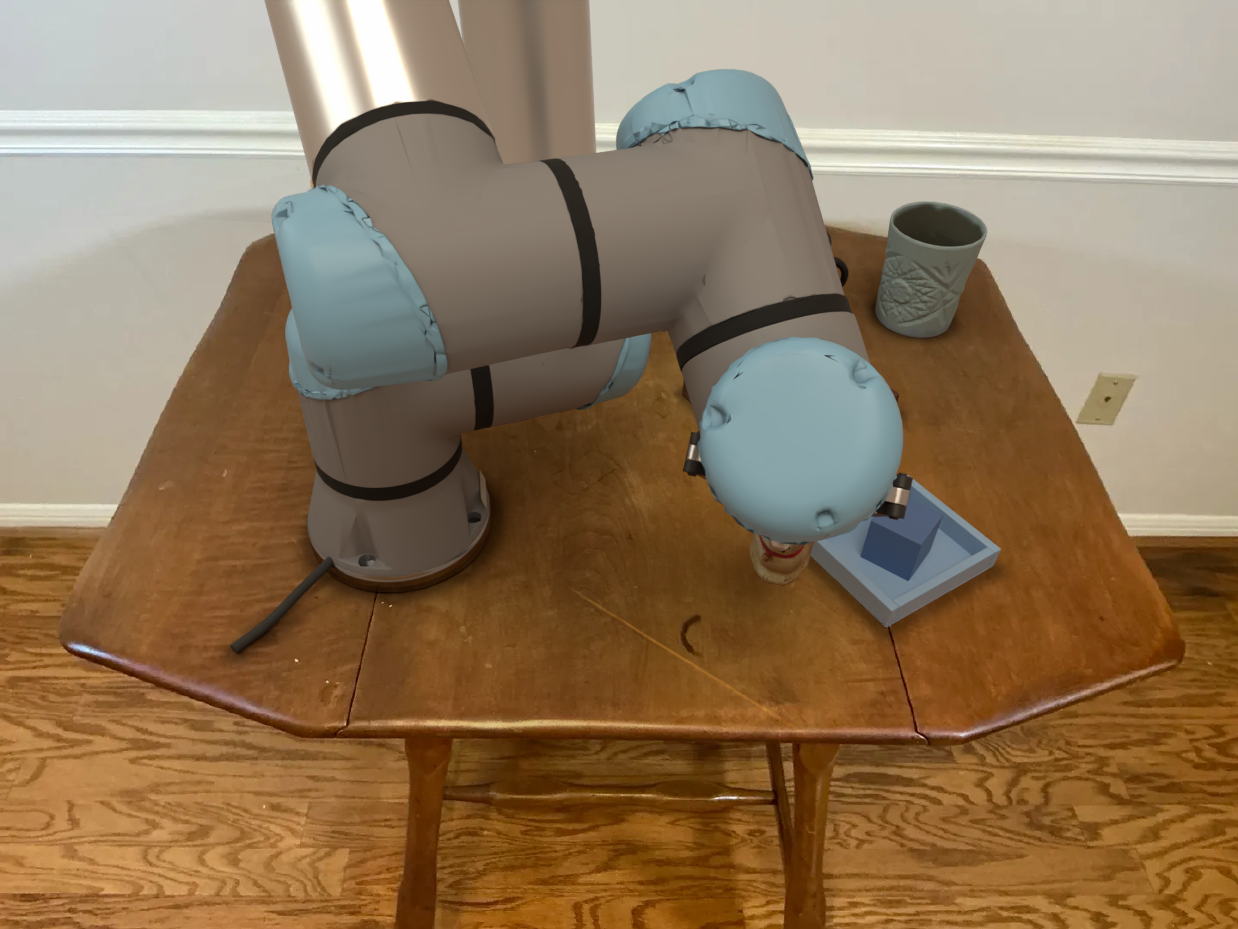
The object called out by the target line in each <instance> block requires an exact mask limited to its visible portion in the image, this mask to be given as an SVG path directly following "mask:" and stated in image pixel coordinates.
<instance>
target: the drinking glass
mask: <svg viewBox="0 0 1238 929" xmlns="http://www.w3.org/2000/svg"><path fill="white" fill-rule="evenodd" d="M888 223H889V224H888V229H887V230H888V232H887V241H886V242H887V243H886V246H885V250H884V251H885V252H884V255H885V260H884V263H883V267H882V270H881V272H882V273H881V277H880V282H879V283H880V284H879V286H878V288H877V291H878V292H877V295H876V301H875V308H874V312H875V316H876V319H877V320H878V322H879V323H880V324H881V325H882V326H884V328H887V329H888V330H890V331H892V332H894V333H896V334H899V335H902V336H905V337H910V338H918V339H920V338H921V339H925V338H933V337H934V338H935V337H938V336H941V335H942V334H945V332H947V331H948V329H949V328H950V326H951V324H952V321H953V319H954V316H955V314H956V312H957V309H958V306H959V303H960V298H961V295H962V294H963V292H964V290H965V287H966V284H967V281H968V278H969V276H970V274H971V272H972V271H973V269H974V266H975V264H976V262H977V260H978V258H979V255H980V252H981V251H982V247H983V245H984V243H985V240H986V238H987V235H988V227H987V226H986V223H985V222H984V221H983V220H982V218H980V217H979V216H977V215H976V213H975V214H974V213H973V212H971V211H969V210H967V209H965V208H963V207H960V206H956V205H954V204H950V203H945V202H940V201H939V202H938V201H923V200H922V201H916V202H915V201H913V202H909V203H906V204H903V205H901V206H899V207H898V208H896V209H894V211H892V213H891V215H890V217H889V222H888Z"/></svg>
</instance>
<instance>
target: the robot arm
mask: <svg viewBox="0 0 1238 929" xmlns="http://www.w3.org/2000/svg"><path fill="white" fill-rule="evenodd" d="M264 4H265V8H266V12H267V16H268V20H269V23H270V24H269V25H270V28H271V31H272V35H273V38H274V43H275V46H276V50H277V54H278V58H279V63H280V66H281V69H282V74H283V77H284V82H285V85H286V88H287V93H288V96H289V100H290V104H291V107H292V111H293V115H294V119H295V123H296V126H297V131H298V136H299V139H300V143H301V146H302V149H303V150H302V151H303V153H304V157H305V160H306V164H307V165H306V166H307V169H308V173H309V177H310V179H311V180H312V183H313V185H314V187H313V188H311V187H310V188H309V189H308V190H306V191H304V192H299V193H294V194H289V195H286V196H284V197H281V198H280V199H279V200H278V201H277V202H276V203H275V204H274V206H273V209H272V211H271V225H272V230H273V234H274V238H275V242H276V247H277V250H278V256H279V260H280V264H281V268H282V272H283V277H284V280H285V284H286V289H287V292H288V297H289V301H290V306H291V309H290V310H289V313H288V316H287V319H286V322H285V329H284V331H285V333H284V334H285V335H284V336H285V337H284V338H285V342H286V347H287V348H286V349H287V354H288V360H289V363H288V373H289V374H288V375H289V378H290V380H291V381H290V382H291V384H292V386H293V388H294V389H296V390H297V394H298V399H299V403H300V407H301V411H302V416H303V421H304V424H305V428H306V429H305V430H306V433H307V438H308V442H309V445H310V446H309V447H310V451H311V455H312V457H313V462H314V466H315V474H314V480H313V486H312V491H311V497H310V503H309V507H308V512H307V517H306V530H307V534H308V538H309V541H310V545H311V549H312V552H313V555H314V557H315V559H316V561H317V562H318V564H319V565H317V567H315V569H314V570H312V572H310V573H309V574H308V575H307V576H306V577H305V578H304V579H303V581H301V582H299V584H298V585H297V586H296V587H295V588H294V589H293V590H292V591H291V592H290V593H289V594H288V596H286V598H284V599H283V601H281V603H280V604H278V606H277V607H276V608H275V609H274V610H273V611H272V612H270V613H269V614H268V615H267V616H266V617H265V618H264V619H263V620H262V621H260V623H258V624H257V625H256V626H254V627H253V628H252V629H251V630H249V631H248V632H246V633H245V634H244V635H242V636H241V637H239V638H238V639H236V640H235V641H234V642H233V643H231V644H230V648H231V650H232V651H233V652H234V653H235V654H238V653H240V652H241V651H243V650H244V649H245V648H247V647H248V646H249V645H251V644H252V643H253V642H254V641H256V640H258V639H259V638H260V637H262V635H264V634H265V633H266V632H268V630H270V629H271V628H272V627H273V626H274V625H275V624H277V622H279V621H280V620H281V619H282V618H283V617H284V616H285V615H286V614H287V613H288V612H289V610H291V609H292V607H293V606H294V605H295V604H296V603H297V602H298V601H299V600H300V599H302V597H303V596H304V595H305V594H307V592H308V591H309V590H310V589H311V588H312V587H313V586H314V585H315V584H316V583H317V582H318V581H319V580H320V579H321V578H323V576H324V575H325V574H326V573H327V574H329V575H330V576H331V577H333V578H334V579H336V580H338V581H339V582H341V583H343V584H345V585H347V586H349V587H353V588H356V589H359V590H363V591H369V592H374V593H376V592H377V593H403V592H409V591H415V590H419V589H423V588H427V587H430V586H433V585H435V584H438V583H440V582H443V581H445V580H447V579H449V578H450V577H453V576H454V575H456V574H457V573H459V572H460V571H462V570H464V569H465V568H466V567H467V566H469V565H470V564H471V563H472V562H473V560H475V558H477V556H478V555H479V554H480V552H481V551H482V550H483V548H484V546H485V545H486V543H487V541H488V538H489V536H490V533H491V529H492V510H491V509H492V508H491V500H490V494H489V490H488V488H487V483H486V478H485V476H484V474H483V472H482V470H481V469H479V472H478V471H477V468H476V467H475V465H474V464H473V461H472V460H471V458H470V456H469V455H468V453H467V452H466V450H465V447H464V446H463V440H462V434H466V433H471V432H475V431H479V430H484V429H490V428H495V427H499V426H503V425H504V426H505V425H509V424H513V423H517V422H522V421H527V420H532V419H536V418H540V417H546V416H551V415H554V414H559V413H564V412H568V411H572V410H573V411H574V410H577V411H583V410H584V411H585V410H588V409H591V408H593V407H594V406H595V405H597V404H601V403H604V402H605V403H606V402H608V401H609V402H610V401H612V400H615V399H619V398H622V397H624V396H626V395H628V394H629V393H630V392H631V390H632V389H634V388H635V387H636V386H637V385H638V383H639V381H641V379H642V377H643V375H644V373H645V370H646V367H647V364H648V361H649V356H650V352H651V343H652V334H655V333H660V332H666V333H667V334H668V336H669V338H670V342H671V344H672V347H673V350H674V352H675V358H676V360H677V363H678V368H679V370H680V372H681V374H682V378H683V382H684V381H685V385H686V388H687V392H688V395H689V399H690V401H689V402H690V405H691V409H692V412H693V416H694V419H695V422H696V426H697V429H698V430H697V431H696V432H694V431H691V432H690V437H689V441H688V445H687V450H686V453H685V459H684V462H683V463H684V464H683V468H682V472H684V473H686V474H687V476H690V477H694V478H695V477H697V476H698V477H699V478H701V479H704V480H706V482H707V485H708V487H709V490H710V493H711V494H712V497H713V498H714V501H716V502H718V503H719V504H721V505H722V506H724V508H723V509H724V512H725V513H726V514H727V515H729V516H731V517H732V519H734V521H735V523H736V524H737V525H739V526H740V527H742V528H743V529H745V531H748V532H749V533H751V534H752V535H753V534H758V535H760V536H763V537H764V539H770V540H769V544H770V545H771V546H772V548H774V549H777V550H780V551H783V550H786V549H788V548H789V545H790V544H793V545H806V544H808V543H809V542H814V541H820V540H824V539H828V538H832V537H835V536H838V535H842V534H845V533H849V532H851V531H853V530H854V529H855V528H856V527H857V526H858V525H859V524H860V523H861V521H866V520H868V519H869V518H870V517H889V519H894V520H898V519H899V518H900V519H904V518H905V513H906V508H907V507H905V506H907V504H908V499H909V495H910V491H909V490H911V485H912V481H913V479H914V478H913V477H911V476H910V477H908V476H907V475H908V473H904V472H898V470H899V468H900V466H901V463H902V456H903V450H904V449H903V448H904V428H903V427H904V426H903V419H902V415H901V410H900V407H899V405H898V402H896V399H895V397H894V395H893V393H892V391H891V389H892V388H891V386H889V384H888V382H887V380H885V378H884V377H883V376H882V374H880V373H879V372H878V370H877V369H876V368H875V367H874V366H873V365H872V364H871V361H870V358H869V355H868V352H867V349H866V345H865V341H864V339H863V335H862V333H861V330H860V326H859V324H858V321H857V320H858V319H857V318H856V315H855V314H854V312H853V310H852V307H851V303H850V301H849V298H848V297H847V296H846V295H845V292H844V289H843V287H842V285H841V282H840V278H841V277H840V275H839V272H838V267H836V264H835V260H834V257H835V256H834V252H833V249H832V245H831V246H830V243H829V239H828V236H827V232H828V231H827V229H826V226H825V221H824V218H823V215H822V211H821V208H820V202H819V200H818V197H817V193H816V189H815V187H814V186H815V185H814V182H813V180H814V175H813V172H812V171H813V170H812V165H811V164H810V161H809V159H808V157H807V154H806V151H805V150H804V147H803V145H802V142H801V140H800V137H799V135H798V132H797V130H796V127H795V125H794V122H793V120H792V118H791V116H790V115H789V112H788V110H787V109H786V106H785V103H784V101H783V99H782V97H781V95H780V93H779V92H778V90H777V88H776V87H775V86H774V85H773V84H772V83H771V82H769V81H768V80H767V79H766V78H764V77H762V76H761V75H758V74H756V73H754V72H752V71H748V70H742V69H735V68H733V69H732V68H718V69H717V68H716V69H710V70H704V71H700V72H696V73H695V74H693V75H692V76H690V77H688V79H686V80H684V81H681V82H679V83H672V82H667V83H666V84H663V85H661V86H659V87H658V88H656V89H654V90H652V91H651V92H649V93H648V94H646V95H645V96H643V97H642V98H641V99H639V101H637V102H636V103H635V104H634V105H633V106H632V107H631V108H630V109H629V110H628V111H627V112H626V114H625V116H623V118H622V119H621V121H620V123H619V125H618V127H617V131H616V135H615V136H616V137H615V149H614V150H613V149H612V150H606V151H605V150H604V151H599V152H597V139H596V138H597V137H596V136H597V135H596V115H595V114H596V113H595V95H594V94H595V93H594V92H595V90H594V75H593V56H592V55H593V50H592V29H591V28H592V27H591V9H590V7H591V6H590V0H457V7H458V15H459V24H460V29H459V26H458V22H457V20H456V17H455V14H454V10H453V8H452V4H451V2H450V0H264ZM826 231H827V232H826ZM833 256H834V257H833ZM890 388H891V389H890Z"/></svg>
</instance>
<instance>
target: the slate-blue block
mask: <svg viewBox="0 0 1238 929" xmlns="http://www.w3.org/2000/svg"><path fill="white" fill-rule="evenodd" d="M905 507H907V508H906V513H905V518H904V519H900V518H899V519H898V520H894V519H889V517H873V519H872V520H871V522H870V526H869V529H868V532H867V536H866V539H865V543H864V546H863V549H862V553H861V556H860V557H862V558H864V559H866V560H868V561H869V562H871V563H873V564H875V565H877V566H879V567H881V568H883V569H885V570H887V571H889V572H891V573H893V574H895V575H897V576H899V577H901V578H903V579H905V580H907V581H909V580H910V579H911V577H912V576H913V574H914V573H915V572H916V570H917V569H918V567H919V566H920V565H921V563H922V562H923V560H924V559H925V558H926V556H927V555H928V553H929V552H930V550H931V547H932V544H933V542H934V539H935V536H936V533H937V531H938V528H939V525H940V522H941V520H942V517H943V514H940V513H938V512H936V511H934V510H932V509H930V508H928V507H926V506H923V505H921V504H919V503H917V502H915V501H913V500H911V499H908V504H907V506H905Z"/></svg>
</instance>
